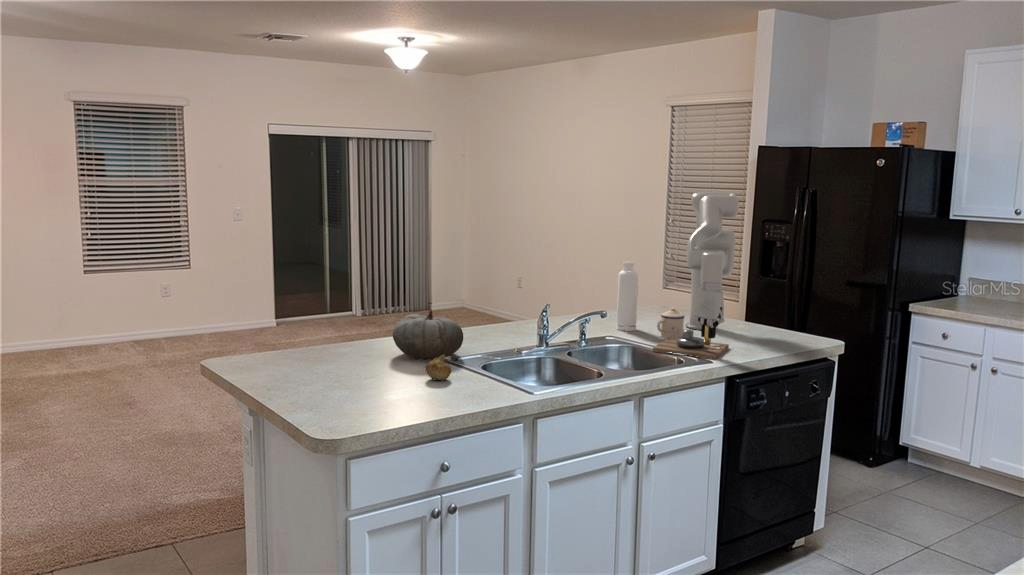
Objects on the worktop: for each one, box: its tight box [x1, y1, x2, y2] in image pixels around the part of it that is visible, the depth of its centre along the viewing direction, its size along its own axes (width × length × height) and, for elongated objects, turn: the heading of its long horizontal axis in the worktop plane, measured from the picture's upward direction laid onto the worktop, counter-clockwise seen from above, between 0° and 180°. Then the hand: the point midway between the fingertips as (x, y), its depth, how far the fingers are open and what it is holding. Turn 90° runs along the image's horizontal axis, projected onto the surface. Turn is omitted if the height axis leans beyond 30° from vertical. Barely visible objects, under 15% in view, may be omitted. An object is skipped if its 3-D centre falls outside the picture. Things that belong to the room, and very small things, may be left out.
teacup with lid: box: [656, 307, 685, 339], centre depth 314 cm, size 12×9×12 cm
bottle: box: [616, 260, 639, 332], centre depth 327 cm, size 8×8×28 cm
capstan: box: [676, 325, 712, 348], centre depth 291 cm, size 15×10×9 cm
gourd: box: [392, 309, 464, 361], centre depth 278 cm, size 25×25×17 cm
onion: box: [425, 355, 452, 381], centre depth 249 cm, size 8×8×8 cm
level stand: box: [652, 337, 730, 360], centre depth 294 cm, size 20×23×2 cm
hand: (708, 336), depth 286 cm, fingers closed on capstan, 2 cm apart
